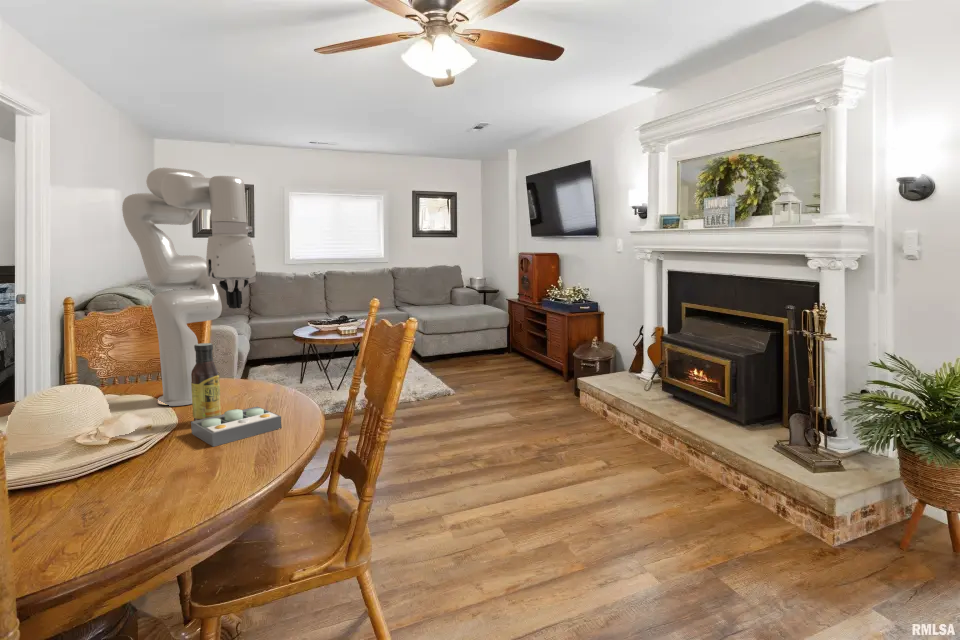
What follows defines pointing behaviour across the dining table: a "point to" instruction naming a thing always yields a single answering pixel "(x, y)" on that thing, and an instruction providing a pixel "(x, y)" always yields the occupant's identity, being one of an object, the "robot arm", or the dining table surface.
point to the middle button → (233, 415)
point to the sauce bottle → (205, 384)
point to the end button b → (254, 412)
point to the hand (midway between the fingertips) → (234, 307)
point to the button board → (236, 427)
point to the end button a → (211, 422)
